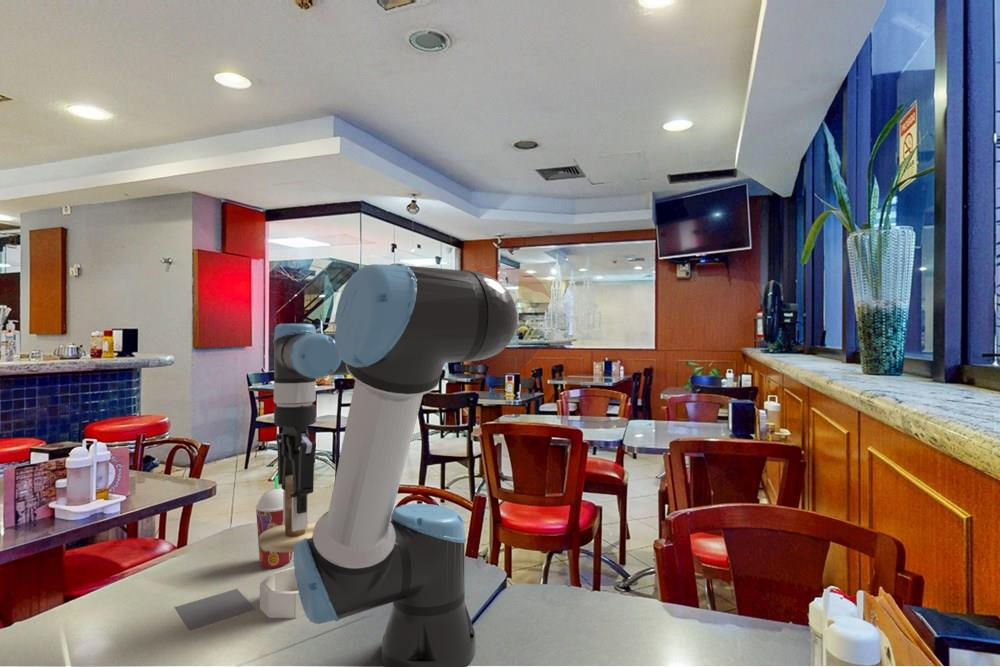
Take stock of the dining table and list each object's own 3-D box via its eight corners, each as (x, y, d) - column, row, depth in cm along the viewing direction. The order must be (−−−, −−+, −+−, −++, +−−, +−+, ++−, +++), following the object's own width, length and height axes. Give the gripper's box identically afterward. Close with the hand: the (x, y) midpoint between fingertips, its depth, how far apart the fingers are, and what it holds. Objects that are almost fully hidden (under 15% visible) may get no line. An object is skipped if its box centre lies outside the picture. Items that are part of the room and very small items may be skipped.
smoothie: (302, 558, 126) (302, 472, 126) (284, 574, 118) (284, 481, 118) (268, 557, 127) (268, 471, 127) (248, 572, 119) (248, 480, 119)
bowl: (337, 606, 104) (337, 579, 104) (275, 628, 96) (275, 599, 96) (312, 585, 112) (312, 561, 112) (253, 604, 104) (253, 578, 104)
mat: (255, 611, 102) (255, 608, 102) (189, 633, 94) (189, 630, 94) (237, 591, 110) (237, 588, 110) (174, 610, 102) (174, 607, 102)
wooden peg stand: (342, 539, 104) (342, 476, 104) (273, 558, 95) (273, 489, 95) (313, 522, 113) (313, 464, 113) (248, 537, 105) (248, 475, 105)
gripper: (333, 406, 101) (333, 533, 101) (297, 398, 113) (297, 511, 113) (292, 410, 96) (292, 543, 96) (259, 401, 108) (259, 519, 108)
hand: (295, 526), depth 104 cm, fingers closed on wooden peg stand, 3 cm apart
